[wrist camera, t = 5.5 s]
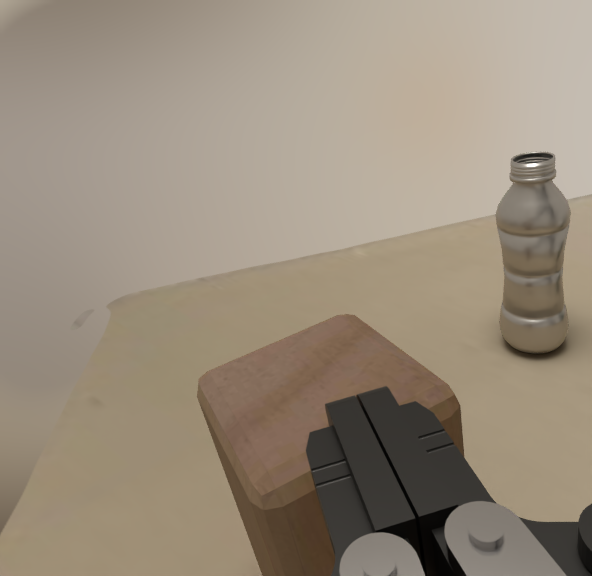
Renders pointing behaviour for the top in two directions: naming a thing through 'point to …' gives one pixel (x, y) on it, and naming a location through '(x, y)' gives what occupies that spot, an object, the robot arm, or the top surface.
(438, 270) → the top surface
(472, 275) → the top surface
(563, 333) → the plastic bottle
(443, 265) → the top surface
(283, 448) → the wooden block
